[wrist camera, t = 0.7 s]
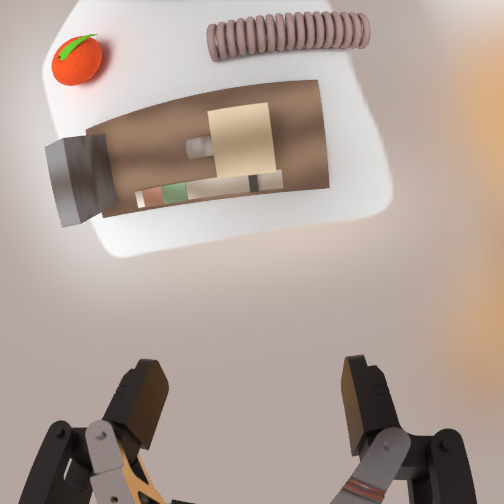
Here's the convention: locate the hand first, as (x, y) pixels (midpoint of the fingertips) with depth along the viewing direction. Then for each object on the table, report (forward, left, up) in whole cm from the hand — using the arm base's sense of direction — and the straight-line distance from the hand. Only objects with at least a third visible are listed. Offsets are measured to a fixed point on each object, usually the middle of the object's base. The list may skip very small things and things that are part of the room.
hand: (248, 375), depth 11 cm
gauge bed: (-9, -7, -24) cm, 26 cm away
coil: (-21, +5, -24) cm, 33 cm away
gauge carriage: (-8, -2, -21) cm, 23 cm away
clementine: (-25, -20, -24) cm, 40 cm away
